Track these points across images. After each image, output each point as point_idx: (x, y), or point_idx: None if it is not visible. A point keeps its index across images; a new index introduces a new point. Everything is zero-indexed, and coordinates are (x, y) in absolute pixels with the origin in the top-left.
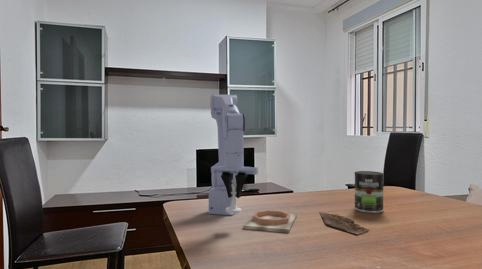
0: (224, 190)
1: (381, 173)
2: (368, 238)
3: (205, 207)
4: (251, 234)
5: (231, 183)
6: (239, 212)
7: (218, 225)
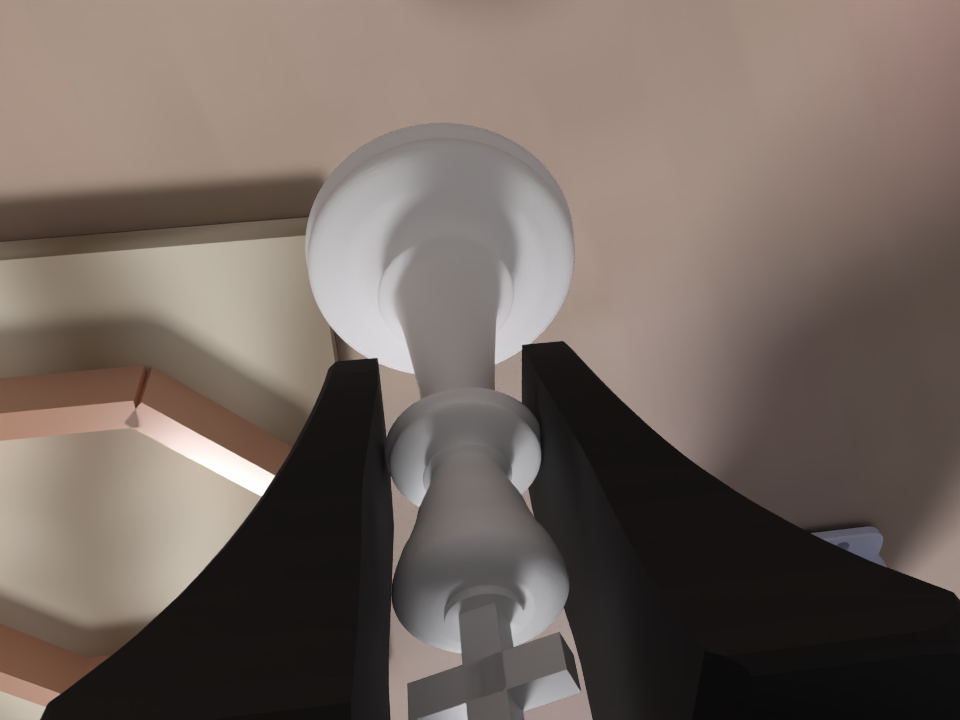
0: None
1: None
2: None
3: None
4: (114, 43)
5: (593, 659)
6: (312, 212)
7: (658, 232)
